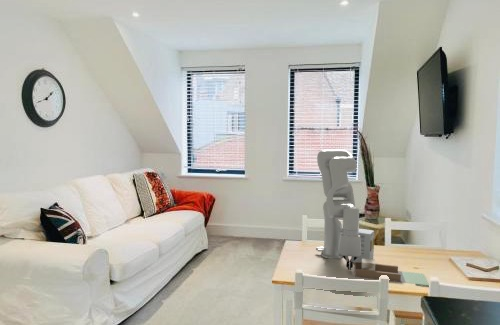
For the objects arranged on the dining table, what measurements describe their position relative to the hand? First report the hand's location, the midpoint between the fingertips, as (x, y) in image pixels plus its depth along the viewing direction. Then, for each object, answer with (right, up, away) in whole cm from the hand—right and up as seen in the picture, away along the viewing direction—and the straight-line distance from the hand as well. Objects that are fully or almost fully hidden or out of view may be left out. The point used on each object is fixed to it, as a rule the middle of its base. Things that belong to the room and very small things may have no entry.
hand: (349, 268), depth 175 cm
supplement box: (+11, -1, +15) cm, 18 cm away
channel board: (+18, -2, -5) cm, 19 cm away
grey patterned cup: (+8, -1, -2) cm, 9 cm away
